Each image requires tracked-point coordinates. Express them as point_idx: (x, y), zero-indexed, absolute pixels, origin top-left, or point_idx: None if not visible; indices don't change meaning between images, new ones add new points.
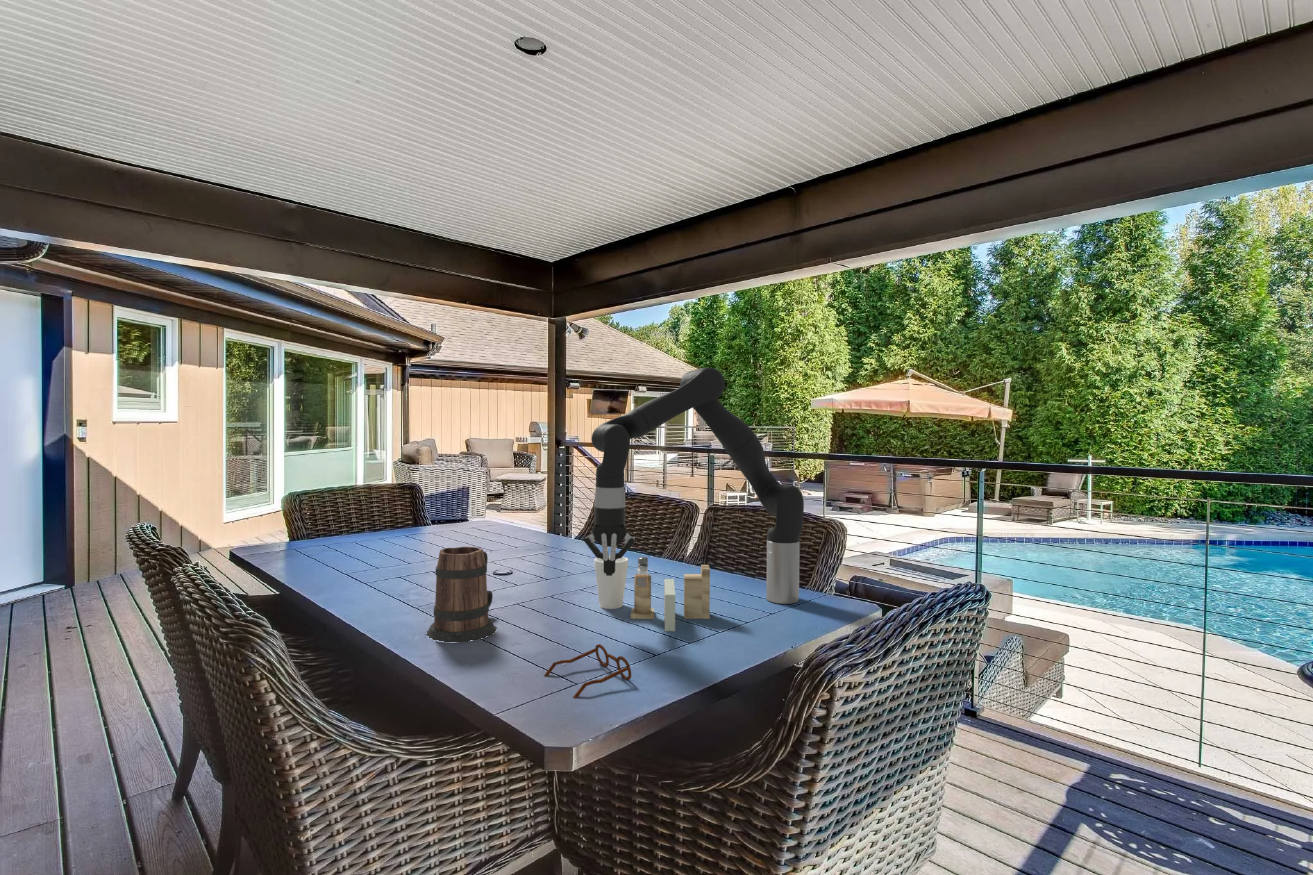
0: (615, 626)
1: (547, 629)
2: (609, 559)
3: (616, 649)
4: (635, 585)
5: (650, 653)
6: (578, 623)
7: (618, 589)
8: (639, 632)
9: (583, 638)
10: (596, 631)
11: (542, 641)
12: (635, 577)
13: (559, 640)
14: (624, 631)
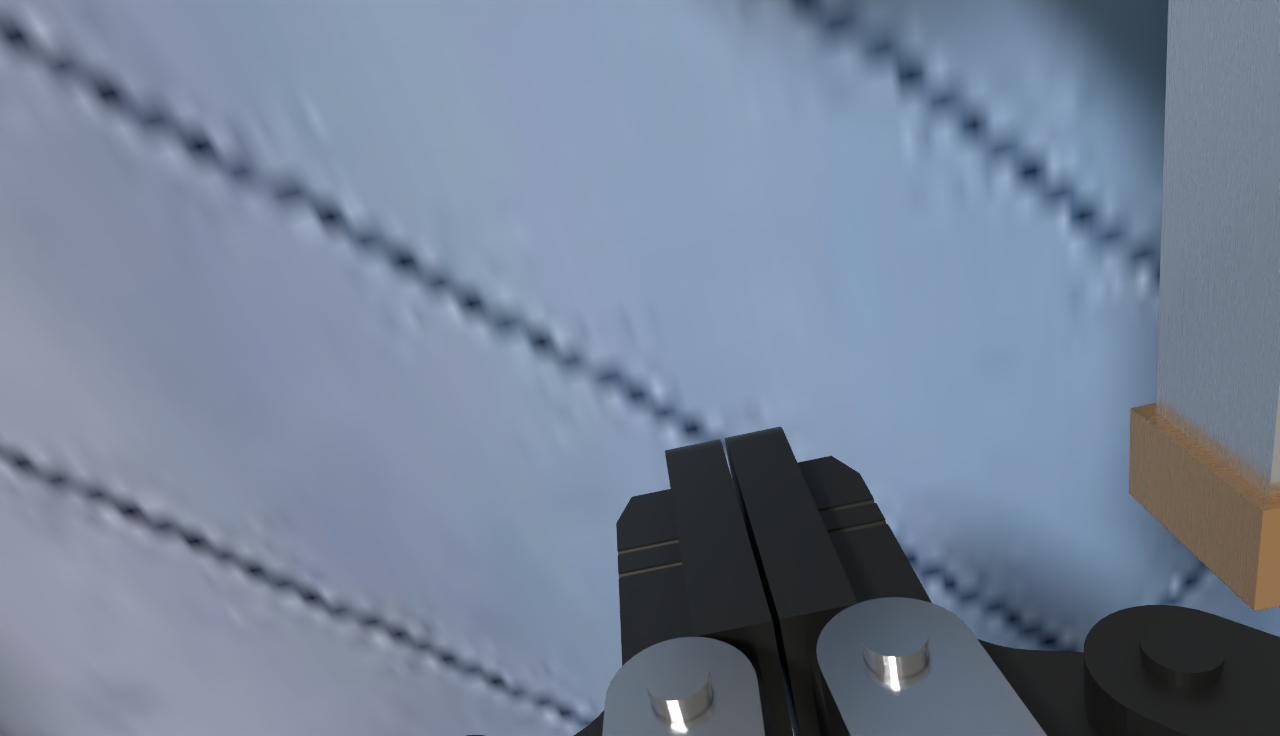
0: (705, 164)
1: (142, 387)
2: (770, 640)
3: None
4: (1157, 517)
5: None
6: (323, 158)
7: None
8: (951, 278)
9: (534, 512)
10: (577, 339)
11: (269, 630)
12: (1239, 592)
13: (378, 587)
14: (817, 283)
